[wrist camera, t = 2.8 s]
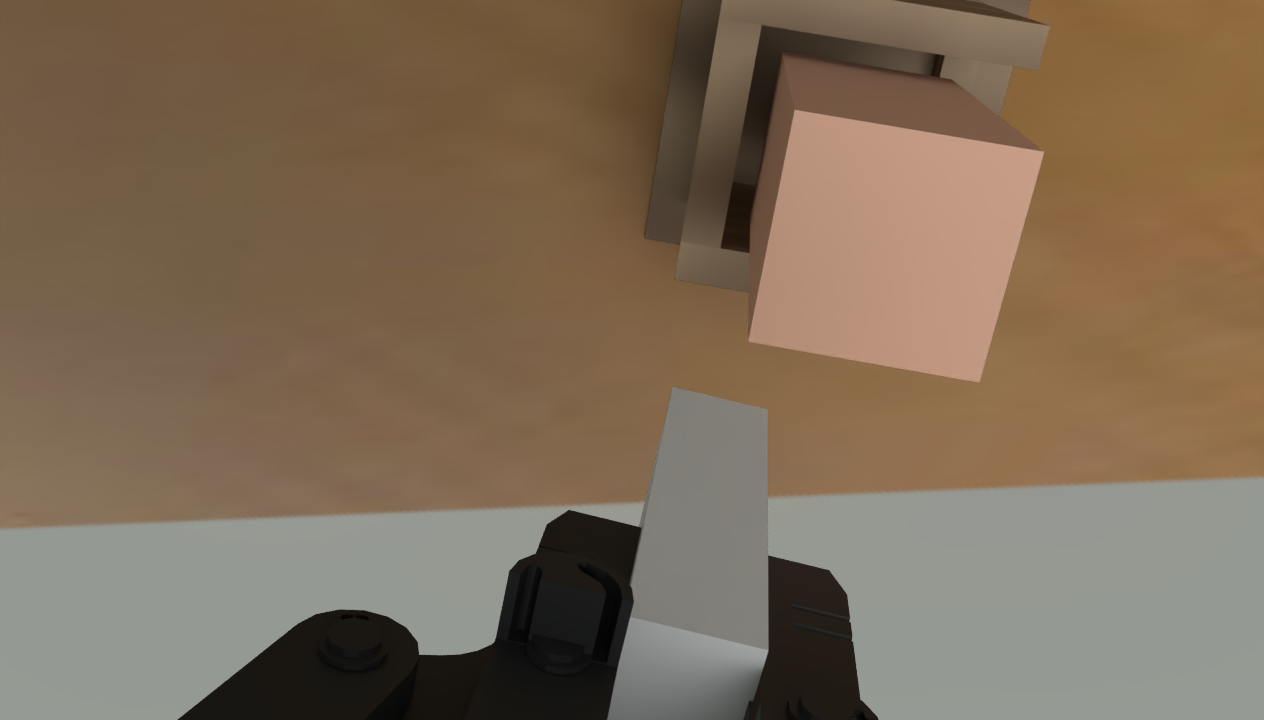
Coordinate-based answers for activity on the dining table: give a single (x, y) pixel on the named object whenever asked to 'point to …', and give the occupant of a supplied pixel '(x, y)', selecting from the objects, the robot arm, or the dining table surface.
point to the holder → (744, 87)
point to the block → (884, 217)
